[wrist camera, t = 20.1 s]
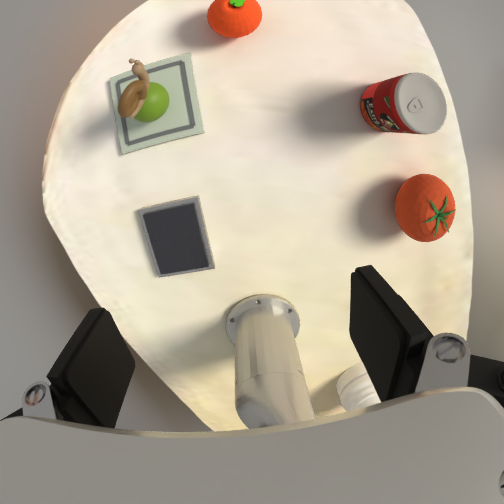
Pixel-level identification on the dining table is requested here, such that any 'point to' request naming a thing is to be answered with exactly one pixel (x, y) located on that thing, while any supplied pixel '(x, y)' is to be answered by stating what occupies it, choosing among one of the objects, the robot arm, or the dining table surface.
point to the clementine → (234, 17)
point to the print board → (179, 110)
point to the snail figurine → (143, 97)
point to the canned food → (405, 105)
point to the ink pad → (177, 237)
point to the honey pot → (356, 388)
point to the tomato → (425, 207)
